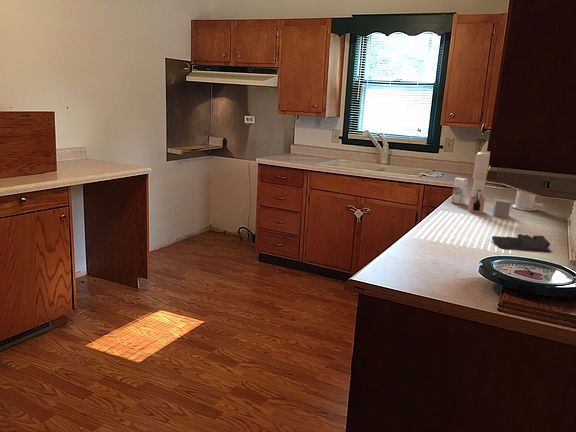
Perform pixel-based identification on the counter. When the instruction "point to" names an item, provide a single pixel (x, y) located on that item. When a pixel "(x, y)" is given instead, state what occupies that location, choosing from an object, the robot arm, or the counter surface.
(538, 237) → the dark slate chunk
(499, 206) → the gray block
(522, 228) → the counter surface
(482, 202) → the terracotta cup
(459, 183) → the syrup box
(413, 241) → the counter surface
